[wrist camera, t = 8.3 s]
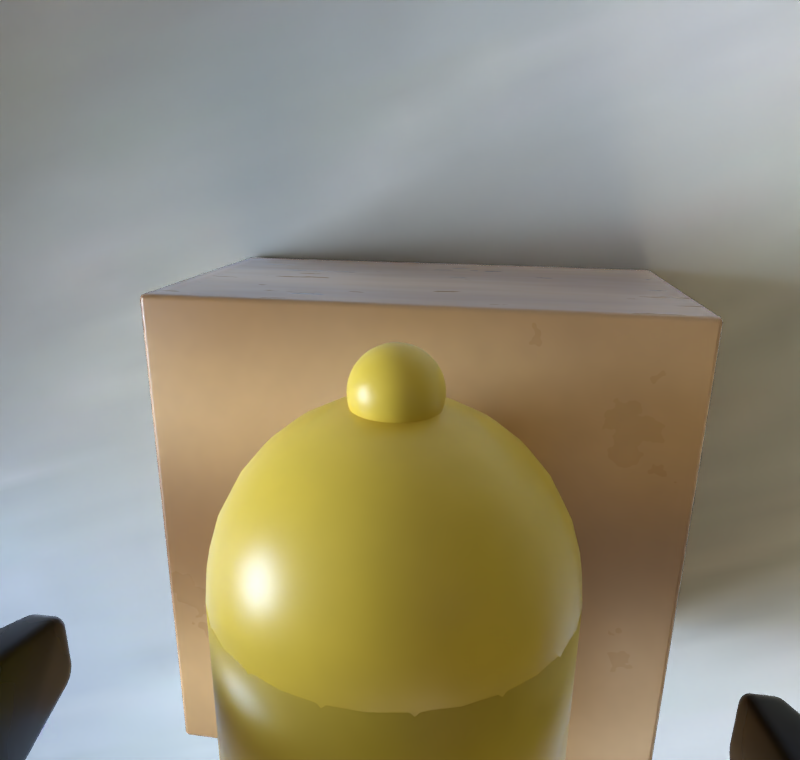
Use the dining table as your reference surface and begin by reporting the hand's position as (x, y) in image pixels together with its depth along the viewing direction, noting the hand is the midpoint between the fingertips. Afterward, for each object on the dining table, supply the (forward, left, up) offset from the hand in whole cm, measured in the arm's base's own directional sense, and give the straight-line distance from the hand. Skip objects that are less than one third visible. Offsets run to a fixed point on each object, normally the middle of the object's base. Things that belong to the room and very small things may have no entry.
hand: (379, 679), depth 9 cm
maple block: (0, 0, -8) cm, 8 cm away
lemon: (0, 0, -3) cm, 3 cm away
